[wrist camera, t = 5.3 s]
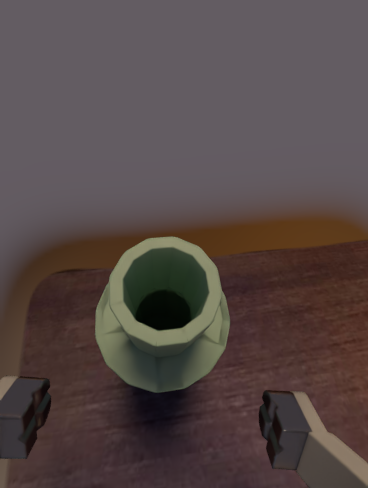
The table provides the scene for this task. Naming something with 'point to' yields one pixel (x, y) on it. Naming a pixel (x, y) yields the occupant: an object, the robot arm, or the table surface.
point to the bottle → (162, 316)
